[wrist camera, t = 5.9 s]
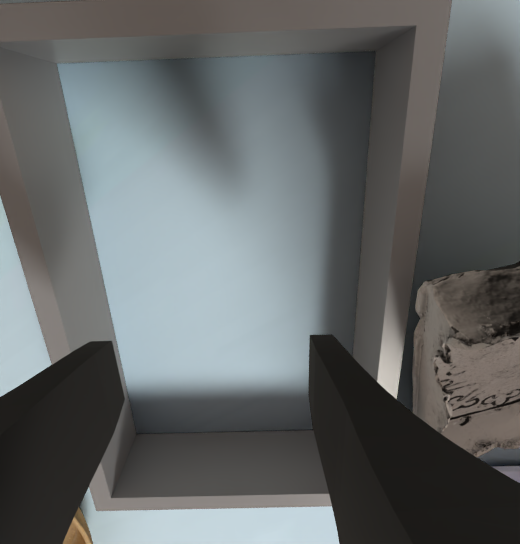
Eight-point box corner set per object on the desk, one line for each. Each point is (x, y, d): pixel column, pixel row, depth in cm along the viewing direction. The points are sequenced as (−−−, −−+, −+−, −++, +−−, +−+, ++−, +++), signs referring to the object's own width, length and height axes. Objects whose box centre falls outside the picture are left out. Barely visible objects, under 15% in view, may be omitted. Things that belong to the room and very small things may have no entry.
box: (361, 440, 19) (381, 505, 16) (123, 445, 19) (96, 511, 16) (401, 22, 12) (453, -16, 9) (27, 37, 12) (-57, 6, 9)
